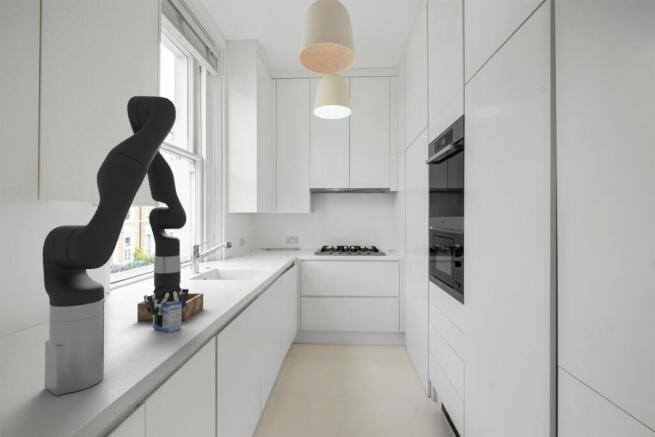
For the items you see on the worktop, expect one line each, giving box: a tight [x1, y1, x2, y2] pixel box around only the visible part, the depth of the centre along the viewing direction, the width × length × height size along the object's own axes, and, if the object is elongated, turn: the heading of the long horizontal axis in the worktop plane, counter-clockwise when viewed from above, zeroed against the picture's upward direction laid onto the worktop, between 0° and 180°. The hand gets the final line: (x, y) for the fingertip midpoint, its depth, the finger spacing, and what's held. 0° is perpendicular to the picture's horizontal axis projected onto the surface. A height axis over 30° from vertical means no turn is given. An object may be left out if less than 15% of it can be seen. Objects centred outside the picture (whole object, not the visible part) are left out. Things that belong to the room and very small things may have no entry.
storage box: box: [137, 292, 204, 323], centre depth 118 cm, size 16×16×6 cm
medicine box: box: [152, 301, 182, 333], centre depth 103 cm, size 8×4×9 cm, turn 62°
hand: (167, 324), depth 103 cm, fingers closed on medicine box, 4 cm apart
